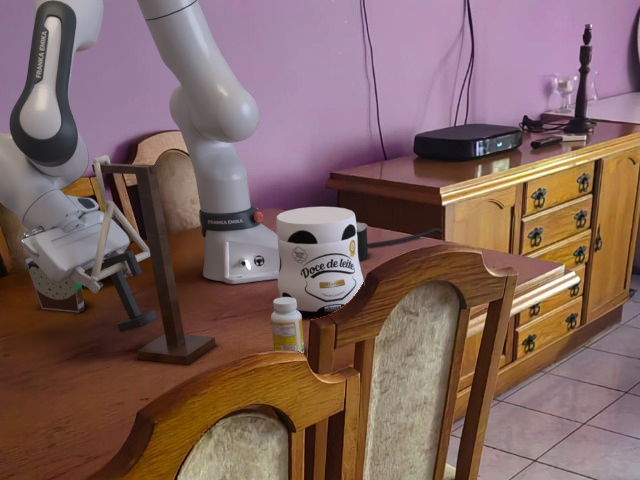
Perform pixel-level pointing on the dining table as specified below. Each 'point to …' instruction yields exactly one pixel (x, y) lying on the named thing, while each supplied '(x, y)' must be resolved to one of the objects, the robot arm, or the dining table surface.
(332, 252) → the milk container
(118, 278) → the black hanger
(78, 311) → the food container
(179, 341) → the hanger stand
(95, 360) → the dining table surface
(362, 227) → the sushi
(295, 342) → the supplement bottle
